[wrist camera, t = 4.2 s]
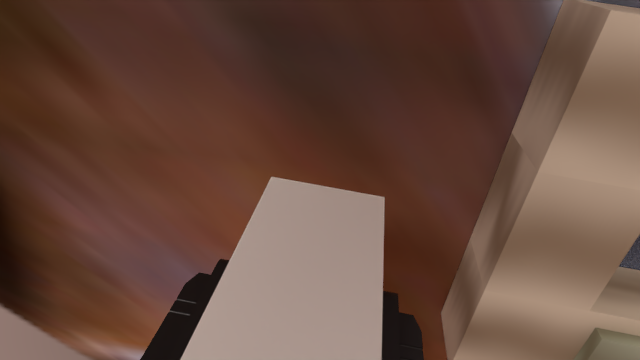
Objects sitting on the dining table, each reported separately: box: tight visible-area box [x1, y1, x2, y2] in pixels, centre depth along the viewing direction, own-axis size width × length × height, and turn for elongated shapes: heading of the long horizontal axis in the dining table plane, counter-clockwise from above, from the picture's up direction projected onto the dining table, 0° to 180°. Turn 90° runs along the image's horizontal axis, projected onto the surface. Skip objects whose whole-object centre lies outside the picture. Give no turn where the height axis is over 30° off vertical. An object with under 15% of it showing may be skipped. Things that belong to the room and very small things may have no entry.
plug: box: [180, 177, 385, 360], centre depth 11 cm, size 4×4×10 cm
